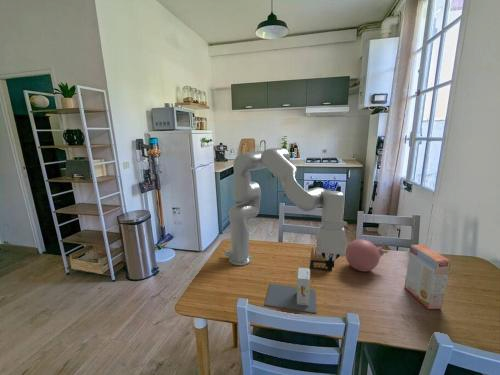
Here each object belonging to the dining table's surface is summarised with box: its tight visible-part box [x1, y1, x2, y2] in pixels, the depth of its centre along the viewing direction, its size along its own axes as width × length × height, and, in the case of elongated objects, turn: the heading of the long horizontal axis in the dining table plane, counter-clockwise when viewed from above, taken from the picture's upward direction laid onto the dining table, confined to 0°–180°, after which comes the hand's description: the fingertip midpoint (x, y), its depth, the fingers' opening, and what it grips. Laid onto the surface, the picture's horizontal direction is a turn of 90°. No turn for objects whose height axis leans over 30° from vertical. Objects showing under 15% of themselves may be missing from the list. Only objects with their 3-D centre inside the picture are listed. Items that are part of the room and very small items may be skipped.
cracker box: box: [404, 244, 452, 310], centre depth 98 cm, size 14×6×21 cm, turn 2°
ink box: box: [296, 267, 311, 306], centre depth 98 cm, size 9×5×12 cm, turn 167°
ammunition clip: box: [309, 246, 332, 272], centre depth 120 cm, size 11×2×12 cm, turn 79°
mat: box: [264, 283, 317, 314], centre depth 101 cm, size 20×14×1 cm
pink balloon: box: [345, 238, 388, 272], centre depth 120 cm, size 15×20×15 cm
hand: (329, 268), depth 94 cm, fingers closed
